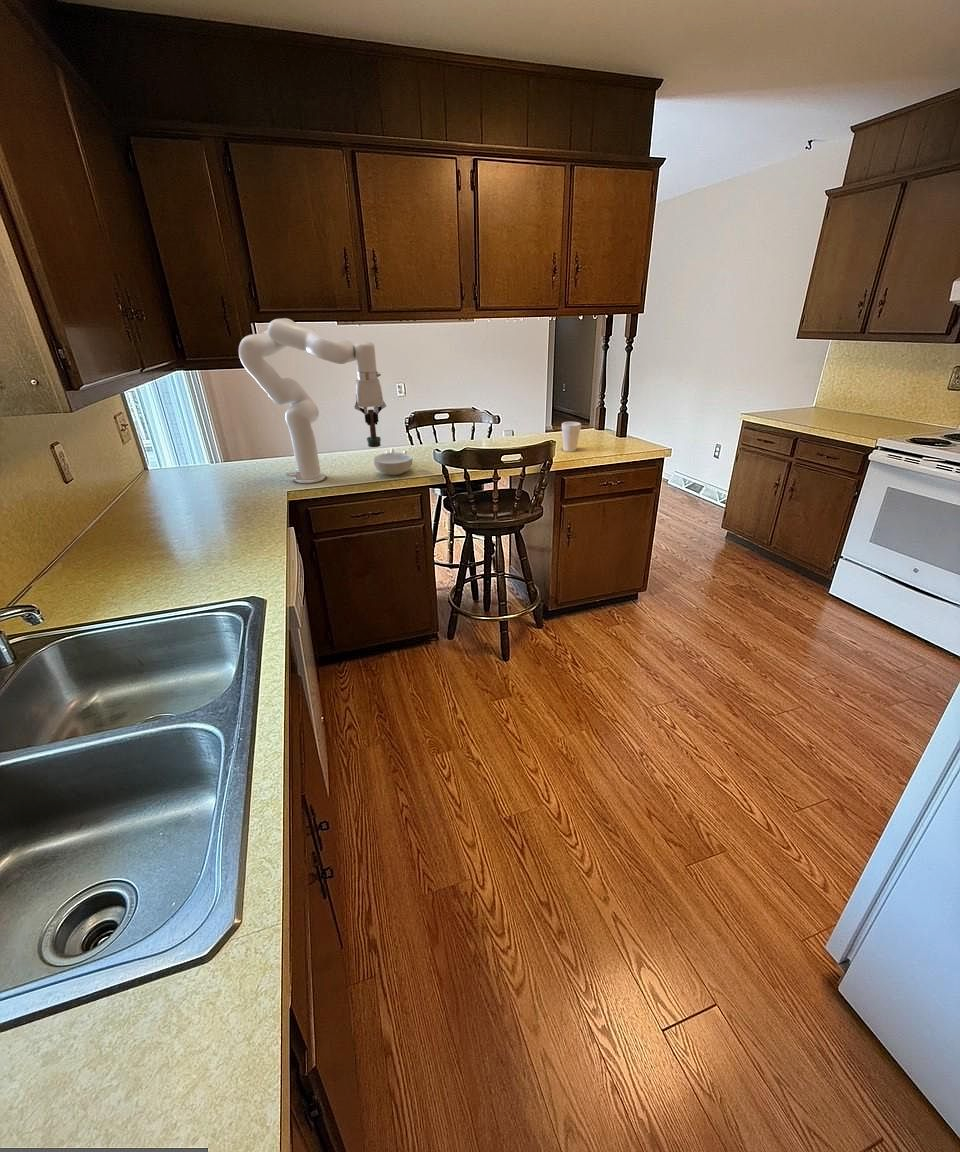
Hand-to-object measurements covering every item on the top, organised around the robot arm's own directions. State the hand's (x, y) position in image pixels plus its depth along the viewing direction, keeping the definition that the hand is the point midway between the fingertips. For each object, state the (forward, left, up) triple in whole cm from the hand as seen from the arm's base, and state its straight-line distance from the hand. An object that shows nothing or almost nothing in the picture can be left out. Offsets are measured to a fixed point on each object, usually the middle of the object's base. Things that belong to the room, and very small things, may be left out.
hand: (372, 423), depth 211 cm
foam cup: (+100, +13, -24) cm, 103 cm away
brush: (0, 0, -9) cm, 9 cm away
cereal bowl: (+9, +8, -24) cm, 27 cm away
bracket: (+13, +24, -24) cm, 36 cm away
